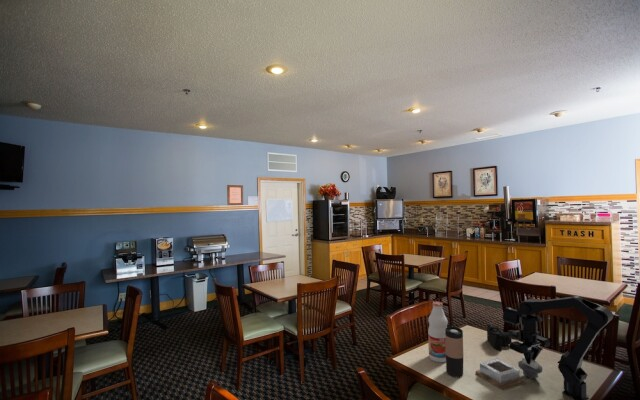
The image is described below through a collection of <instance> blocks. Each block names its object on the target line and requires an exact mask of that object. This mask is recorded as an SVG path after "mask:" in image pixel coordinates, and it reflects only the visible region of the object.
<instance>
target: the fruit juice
mask: <svg viewBox="0 0 640 400" xmlns="http://www.w3.org/2000/svg"><path fill="white" fill-rule="evenodd" d="M443 306H444V305H443V302H441V301H433V302H432V310H431V312H430V314H429V316H428V319H427V320H428V321H427V322H428V324H429V326H428V331H427V334H428V336H427V337H428V338H427V339H428V341H427V342H428V357H429V359H430V360H431V361H433V362H436V363H446V348H445V329H446V328H447V327H448V324H449V323H448V322H449V321H448V318H447V316H446V315H445V311H444V309H443Z"/></svg>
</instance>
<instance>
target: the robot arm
mask: <svg viewBox="0 0 640 400" xmlns="http://www.w3.org/2000/svg"><path fill="white" fill-rule="evenodd" d="M569 308H574V309H576V310H577V311H578V312H579V313H581V314H582V315H583V316H584V317H586V318H587V320H586V326H585V328H584V330H583V331H582V333H581V334H580V337H579V338H578V340H577V341H576V343H575V344H574V346H573V348H572V350H571V351H570V352H569V351H568V350H567V351H566V352H564V353H563V354H562V355H561V356H560V359H559V360H558V361H557V363H556V364H557V368H558V370H559V372H560V374H561V376H562V377H563V390H562V393H563V394H564V395H566V396H567V397H570V398H572V399H573V400H587V399H589V398H590V395H588V394H587V382H585V380H586V379H587V377H588V376H589V375H588V374H587V372H586V371H585V370H584V369H583V368H582V365H583V359H584V357H585V355H586V354H587V352H588V351H589V349H590V348H591V345H592V344H593V342H594V341H595V339H596V337H597V336H598V335H599V332H600V331H602V329H603V328H604V327H605V326H607V325H608V324H609V323H610V322H611V321H612V320H613V319H614V314H613V312H612V311H611V309H610V308H608V307H606V306H601V305H599V304H598V303H595V302H592V301H590V300H587V299H586V298H583V297H582V296H579V295H574V296H568V297H560V298H552V299H551V298H550V299H545V300H544V299H538V298H530V299H527V300H526V299H525V300H524V301H521V302H520V303H519V308H518V309H514V308H512V307H509V306H507V307H505V308H504V312H503V314H502V320H503V322H504V323H507V324H512V325H515V326H519V325H520V324H521V328H519V330H514V329H510V330H508V331H507V333H508V336H509V337H510V338H511V340H515V341H512V342H511V343H510V344H509V345H508V346H509V350H512V351H515V352H517V353H518V354H523V357H525V359H526V362H527V364H530V363H531V360H534V361H536V359H537V358H538V356H539V354H541V352H542V351H543V350H544V349H543V348H542V347H541V346H540V345H541V344H543V346H544V347H545V348H548V347H551V341H550V340H549V339H548V338H546V337H543V336H541V335H540V334H541V332H540V331H538V323H540V322H542V321H543V318H542V317H541V316H540V315H539V314H538V313H540V312H543V311H549V310H560V309H569ZM534 314H536V315H534ZM517 340H518V341H517ZM588 397H589V398H588ZM586 398H587V399H586Z"/></svg>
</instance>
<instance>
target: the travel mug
mask: <svg viewBox="0 0 640 400" xmlns="http://www.w3.org/2000/svg"><path fill="white" fill-rule="evenodd" d="M445 348H446V362H445V369H446V374H447V375H448V376H449V377H453V378H462V377H463V376H464V330H463V329H461V328H459V327H455V326H447V328H446V329H445Z"/></svg>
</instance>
